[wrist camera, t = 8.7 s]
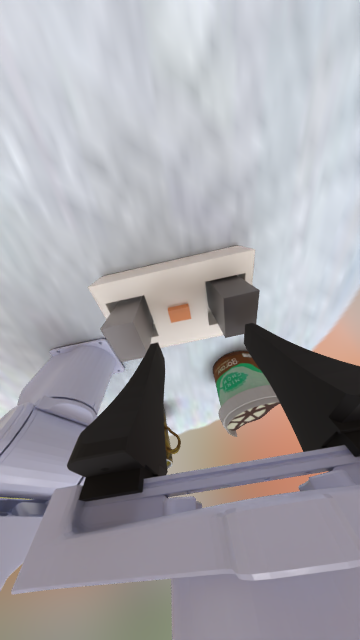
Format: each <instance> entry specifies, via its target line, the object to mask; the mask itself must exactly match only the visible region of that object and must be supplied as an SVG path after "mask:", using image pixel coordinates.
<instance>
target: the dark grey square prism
mask: <svg viewBox="0 0 360 640" xmlns="http://www.w3.org/2000/svg"><path fill="white" fill-rule="evenodd" d="M206 291H207V300H208V307H209V308H210V310H211V312H212V314H213V316H214V318H215V320H216V321H217V323H218V325H219V327H220V329H221V331H222V333H223V334H224V336H225V338H227V337H231V336H236V335H241V334H245V324H249V323H254V324H256V319H257V310H258V300H259V290H258V289H257V288H255V287H254V286H252V285H251V284H249V283H248V282H246V281H245V280H243V279H242V278H240V277H239V276H237V275H234V276H229V277H224V278H220V279H215V280H211V281H206Z"/></svg>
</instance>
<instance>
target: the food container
mask: <svg viewBox="0 0 360 640" xmlns="http://www.w3.org/2000/svg"><path fill="white" fill-rule="evenodd" d="M213 374H214V378H215V383H216V387H217V392H218V396H219V401H220V405H221V408H220V410H219V418H220V420H221V422H222V424H223V426H224V428H225V429H226V430H227V432H228V433H229V434H230V435H232V436H236V437H237V434H236V430H237V429H239V428H240V427H241V426H243V425H245V424H246V423H249V422H252V421H255V420H258V419H260V418H262V417H263V416H264V415H265V414H267V413H268V412H269V411H270V410H271V409H272V408H274V407H275V406H276V405H278V404H280V402H279V400H278V398H277V396H276V394H275V392H274V391H273V389H272V387H271V385H270V384H269V382H268V380H267V379H266V377H265V376H264V374H263V373H262V371H261V370H260V369H259V367H258V366H257V364H256V363H255V361H254V360H253V358H252V357H251V355H250V354H249V352H248V351H236V352H232V353H229V354H226V355H224V356H223V357H221V358H220V359H219V360H218V361H217V362H216V363H215V365H214V367H213Z"/></svg>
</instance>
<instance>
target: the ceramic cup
mask: <svg viewBox="0 0 360 640" xmlns="http://www.w3.org/2000/svg"><path fill="white" fill-rule="evenodd" d="M167 429H168V430H169V432H170V433H172V434H173V435H174V436H176V437H177V439H178V445H177V447H176V448H175V449H171V447H170V441H169V436H168V430H167ZM164 430H165V446H166V460H167V469H168V468H170V467H171V466H172V464H173V461H172V454H175V453H177V452H178V451H179V449H180V444H181V441H180V438H179V436H178V435H177V434H176V433H174V432H173V431H171V429H170V428H169V427H167V423H166V416H165V410H164Z"/></svg>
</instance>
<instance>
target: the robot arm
mask: <svg viewBox="0 0 360 640" xmlns="http://www.w3.org/2000/svg"><path fill="white" fill-rule="evenodd" d="M244 344H245V346H246V348H247V350H248V352H249V354H250V355H251V357H252V358H253V360H254V361H255V363H256V364H257V366H258V367H259V369H260V370H261V371H262V373H263V374H264V376H265V377H266V379H267V380H268V382H269V384H270V385H271V387H272V389H273V391H274V392H275V394H276V396H277V398H278V400H279V402H280V404H281V406H282V407H283V409H284V411H285V413H286V415H287V417H288V419H289V421H290V423H291V425H292V428H293V430H294V432H295V434H296V436H297V438H298V441H299V443H300V445H301V447H302V450H303V452H301V453H295V454H289V455H283V456H277V457H272V458H265V459H260V460H253V461H247V462H241V463H236V464H230V465H224V466H218V467H212V468H206V469H200V470H194V471H188V472H182V473H176V474H171V475H166V474H167V460H166V446H165V430H164V405H163V400H164V382H165V360H164V357H163V354H162V351H161V349H160V346H159V343H158V342H157V343H152V344H150V346H149V348H148V350H147V352H146V354H145V356H144V358H143V359H142V361H141V363H140V365H139V366H138V368H137V370H136V371H135V373H134V374H133V376H132V377H131V379H130V380H129V382H128V383H127V384H126V386H125V387H124V388H123V390H122V391H121V392H120V393H119V394H118V396H117V397H116V398H115V399H114V400H113V402H112V403H111V404H110V405H109V406H108V407H107V408H106V409H105V410H104V411H103V412H102V413H101V414H100V415H99V416H97V413H98V411H99V408H100V405H101V403H102V400H103V397H104V394H105V392H106V389H107V386H108V384H109V381H110V378H111V376H112V374H114V373H119V372H123V371H124V370H125V368H124V366H123V365H122V363H121V362H120V360H119V359H118V357H117V355H116V354H115V352H114V351H113V349H112V348H111V346H110V344H109V343H108V341H107V340H106V339H99V340H94V341H89V342H84V343H80V344H75V345H70V346H65V347H61V348H56V349H52V350H50V351H49V353H50V354H51V355H52V357H51V358H50V359H49V360H48V362H47V363H46V364H45V365H44V366H43V367H42V368H41V369H40V371H39V372H38V373H37V374H36V375H35V376H34V377H33V378H32V379H31V381H30V382H29V383H28V384H27V385H26V386H25V388H24V389H23V390H22V392H21V394H20V396H19V400H18V406H16V407H14V408H13V409H11V410H10V411H9V412H8V413H7V414H5V415H4V416H3V417H2V418H1V419H0V497H8V498H25V499H31V500H22V499H6V498H5V499H4V498H0V591H1V589H2V587H3V585H4V583H5V581H6V579H7V578H8V577H9V576H10V575H11V573H12V572H14V571H15V570H16V569H17V568H18V567H19V566H20V565H21V564H22V563H23V562H24V563H23V565H22V567H21V570H20V572H19V574H18V577H17V579H16V581H15V584H14V586H13V588H12V594H19V593H26V592H34V591H42V590H50V589H59V588H69V587H80V586H91V585H102V584H103V585H104V584H115V583H126V582H138V581H148V580H160V579H171V586H172V587H171V589H172V590H171V592H172V593H171V595H172V640H360V366H356V365H353V364H349V363H346V362H342V361H339V360H336V359H333V358H330V357H326V356H324V355H321V354H318V353H315V352H312V351H310V350H307V349H305V348H302V347H300V346H298V345H295V344H293V343H291V342H289V341H287V340H285V339H282V338H280V337H278V336H277V335H275V334H273V333H271V332H269V331H267V330H265V329H264V328H262V327H260V326H258V325H256V324H254V323H249V324H245V334H244ZM325 471H329V472H327V473H323V474H320V475H316V476H313V477H309V480H308V481H307V482H306V483H304V484H302V485H300V486H299V490H300V491H299V492H292V493H284V494H277V495H270V496H265V497H258V498H252V499H246V500H241V501H236V502H231V503H226V504H220V505H216V506H211V507H206V508H202V504H201V502H197V501H196V499H195V497H175V498H168V497H172V496H178V495H184V494H190V493H196V492H203V491H209V490H215V489H221V488H227V487H233V486H239V485H246V484H252V483H258V482H264V481H270V480H277V479H283V478H289V477H295V476H301V475H307V474H313V473H320V472H325Z"/></svg>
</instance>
